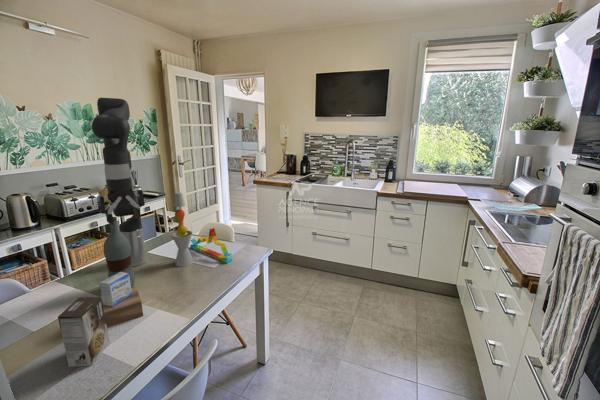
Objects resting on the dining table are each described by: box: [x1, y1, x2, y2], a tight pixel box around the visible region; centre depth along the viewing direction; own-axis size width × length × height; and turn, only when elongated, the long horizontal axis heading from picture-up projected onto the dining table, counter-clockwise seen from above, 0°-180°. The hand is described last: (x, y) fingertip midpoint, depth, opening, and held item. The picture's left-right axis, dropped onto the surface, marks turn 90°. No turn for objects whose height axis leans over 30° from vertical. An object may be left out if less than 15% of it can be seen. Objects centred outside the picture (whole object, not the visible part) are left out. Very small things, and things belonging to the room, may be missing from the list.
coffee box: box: [57, 296, 110, 368], centre depth 81 cm, size 9×6×16 cm
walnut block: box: [98, 286, 144, 329], centre depth 101 cm, size 12×12×6 cm
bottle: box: [103, 216, 136, 288], centre depth 114 cm, size 9×9×30 cm
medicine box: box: [98, 272, 132, 307], centre depth 99 cm, size 8×4×9 cm, turn 164°
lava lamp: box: [171, 191, 195, 268], centre depth 135 cm, size 9×9×35 cm
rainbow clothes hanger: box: [189, 228, 233, 264], centre depth 147 cm, size 30×3×15 cm, turn 54°
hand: (124, 220), depth 103 cm, fingers open, 8 cm apart
